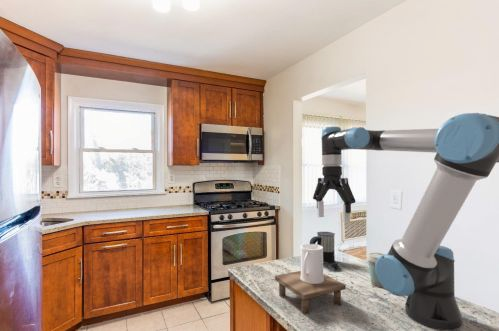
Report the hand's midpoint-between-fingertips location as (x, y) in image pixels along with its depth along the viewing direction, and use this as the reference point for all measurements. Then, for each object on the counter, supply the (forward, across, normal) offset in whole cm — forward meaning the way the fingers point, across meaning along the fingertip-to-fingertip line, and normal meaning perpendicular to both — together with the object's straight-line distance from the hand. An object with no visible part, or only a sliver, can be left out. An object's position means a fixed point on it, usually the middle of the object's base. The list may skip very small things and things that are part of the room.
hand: (333, 219), depth 109 cm
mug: (+21, -2, +14) cm, 25 cm away
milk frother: (+28, +22, -19) cm, 41 cm away
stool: (+28, -1, +14) cm, 31 cm away
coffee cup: (+28, -6, -20) cm, 34 cm away
